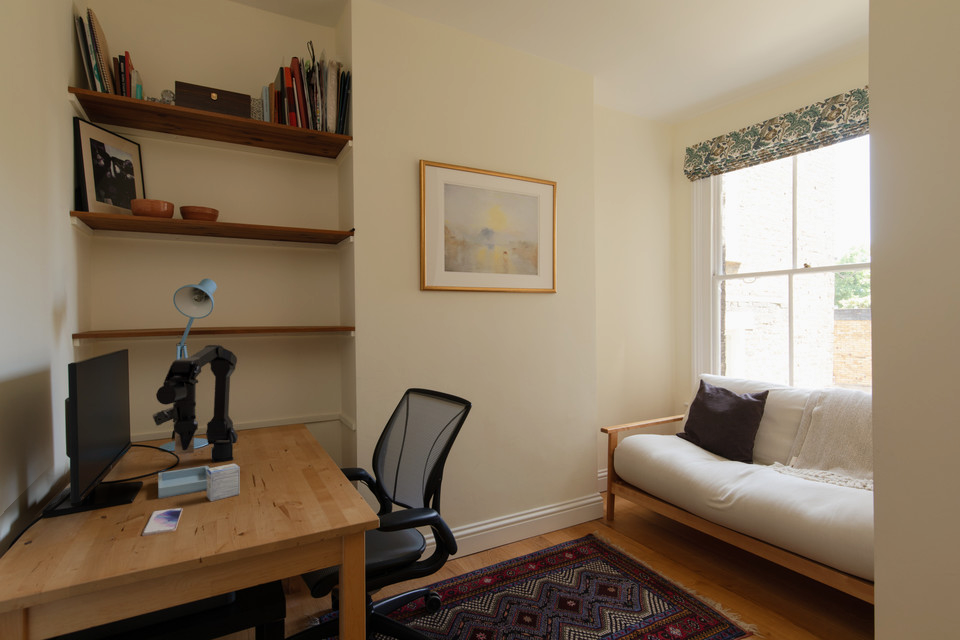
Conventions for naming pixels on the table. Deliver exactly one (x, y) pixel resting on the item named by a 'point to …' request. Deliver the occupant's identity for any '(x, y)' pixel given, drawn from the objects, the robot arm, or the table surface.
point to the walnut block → (179, 446)
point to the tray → (182, 481)
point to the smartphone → (162, 521)
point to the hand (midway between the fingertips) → (184, 448)
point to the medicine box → (223, 481)
